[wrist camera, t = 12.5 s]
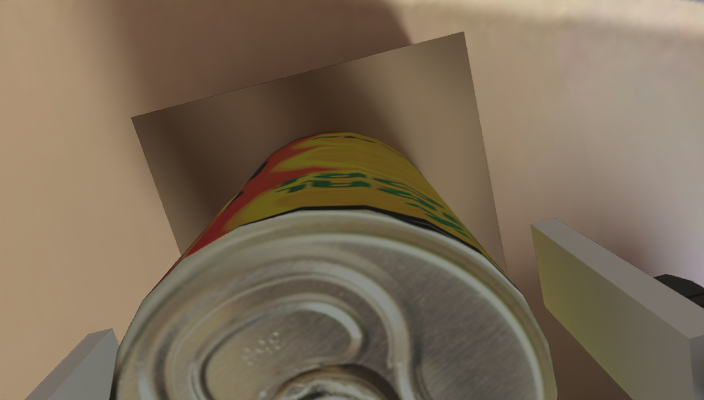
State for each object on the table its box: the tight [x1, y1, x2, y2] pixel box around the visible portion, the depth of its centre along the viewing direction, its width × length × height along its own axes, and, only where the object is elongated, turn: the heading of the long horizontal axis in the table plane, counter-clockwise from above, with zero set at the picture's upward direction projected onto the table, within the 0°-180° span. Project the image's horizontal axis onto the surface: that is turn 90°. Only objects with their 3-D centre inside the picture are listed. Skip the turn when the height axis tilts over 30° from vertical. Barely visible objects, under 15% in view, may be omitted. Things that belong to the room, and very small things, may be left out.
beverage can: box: [109, 132, 558, 400], centre depth 16 cm, size 9×9×12 cm
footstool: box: [131, 32, 508, 277], centre depth 26 cm, size 14×14×9 cm
